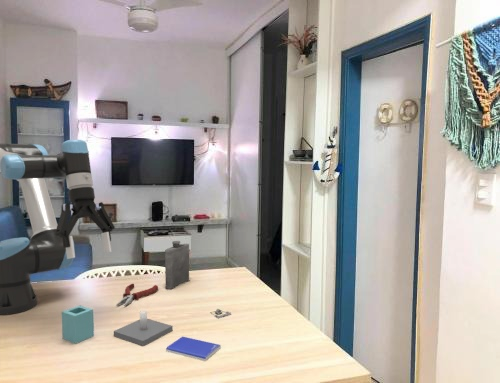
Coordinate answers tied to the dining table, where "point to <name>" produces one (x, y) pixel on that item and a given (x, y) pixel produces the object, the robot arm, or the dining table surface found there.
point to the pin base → (143, 330)
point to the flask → (176, 265)
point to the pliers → (136, 294)
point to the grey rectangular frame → (220, 313)
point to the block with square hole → (77, 324)
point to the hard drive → (193, 348)
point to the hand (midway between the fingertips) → (90, 255)
